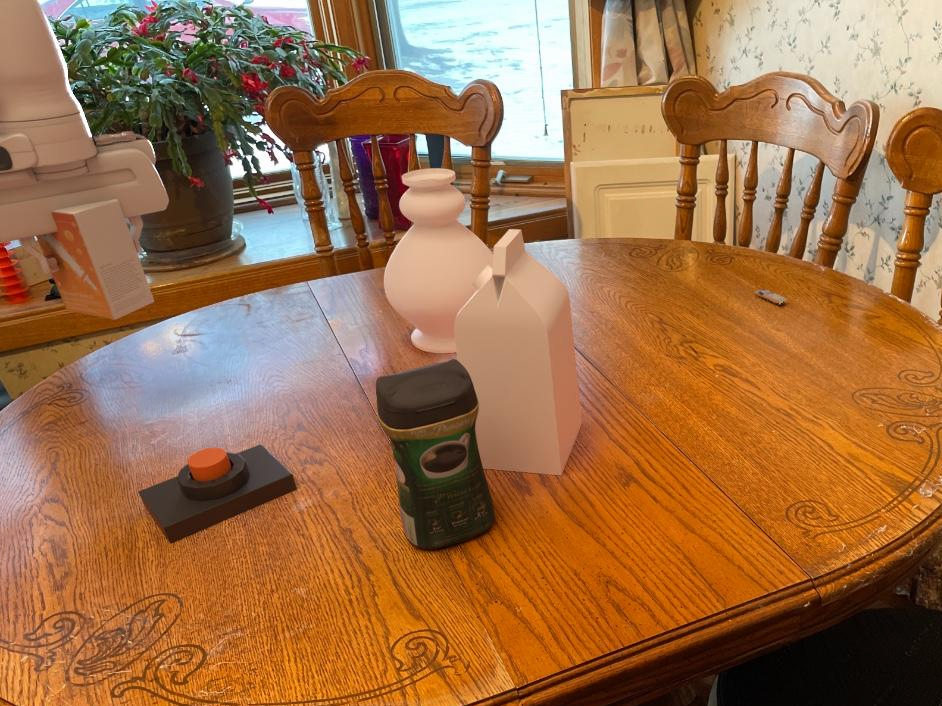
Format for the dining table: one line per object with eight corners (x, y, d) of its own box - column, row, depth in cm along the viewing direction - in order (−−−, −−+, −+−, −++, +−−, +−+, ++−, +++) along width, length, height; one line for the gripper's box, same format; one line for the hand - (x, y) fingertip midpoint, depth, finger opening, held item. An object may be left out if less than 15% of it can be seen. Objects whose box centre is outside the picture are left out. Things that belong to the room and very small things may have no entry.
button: (200, 487, 84) (194, 471, 83) (188, 472, 87) (182, 456, 86) (237, 472, 87) (231, 457, 85) (224, 458, 89) (218, 443, 88)
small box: (66, 312, 97) (21, 207, 89) (109, 294, 102) (70, 193, 94) (114, 321, 94) (72, 213, 87) (156, 302, 99) (120, 198, 92)
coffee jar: (479, 493, 88) (458, 344, 78) (504, 532, 82) (485, 376, 72) (394, 519, 85) (361, 366, 74) (414, 561, 79) (381, 401, 68)
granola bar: (789, 304, 131) (790, 298, 130) (779, 307, 130) (780, 301, 129) (762, 292, 136) (762, 286, 135) (752, 295, 135) (752, 289, 134)
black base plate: (170, 544, 82) (157, 514, 80) (144, 506, 88) (132, 477, 85) (297, 489, 90) (288, 460, 88) (266, 458, 95) (257, 430, 93)
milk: (561, 475, 91) (547, 258, 76) (467, 467, 93) (436, 254, 78) (582, 422, 101) (572, 222, 86) (496, 416, 102) (473, 219, 88)
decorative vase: (528, 324, 127) (515, 166, 113) (464, 370, 114) (440, 197, 100) (440, 307, 134) (418, 156, 120) (370, 348, 121) (336, 184, 107)
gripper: (138, 125, 95) (174, 237, 102) (-66, 153, 83) (-8, 277, 91) (154, 131, 91) (191, 247, 98) (-57, 162, 79) (3, 291, 87)
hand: (94, 262), depth 95 cm, fingers closed on small box, 8 cm apart
